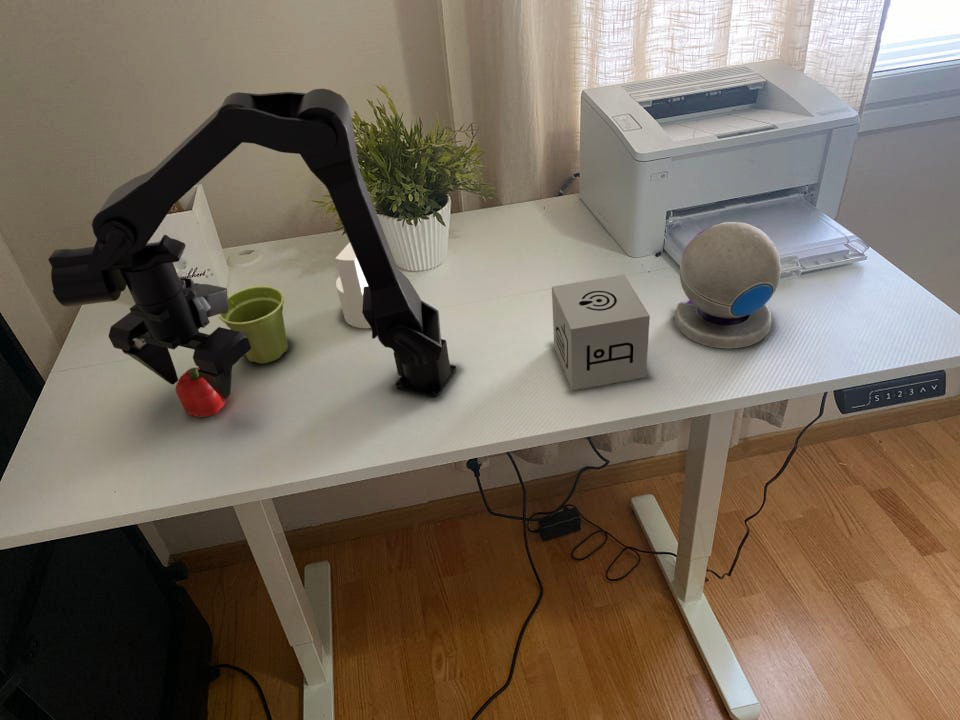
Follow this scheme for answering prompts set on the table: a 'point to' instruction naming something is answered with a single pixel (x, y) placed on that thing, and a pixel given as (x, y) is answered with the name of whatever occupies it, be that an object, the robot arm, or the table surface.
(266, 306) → the plant pot
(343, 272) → the cylinder with rectangular tab
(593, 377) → the icon cube
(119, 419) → the table surface
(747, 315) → the webcam
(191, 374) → the pepper
